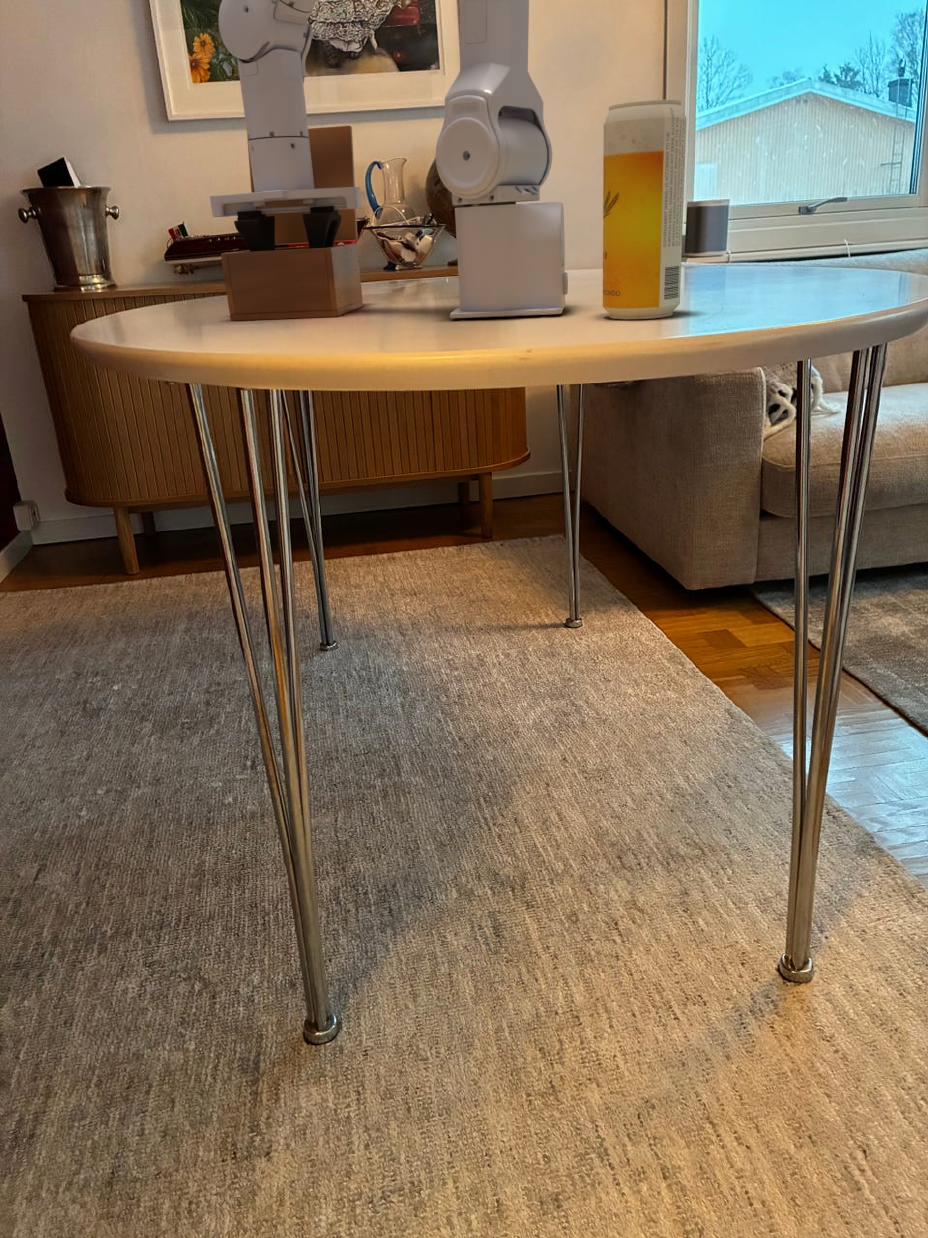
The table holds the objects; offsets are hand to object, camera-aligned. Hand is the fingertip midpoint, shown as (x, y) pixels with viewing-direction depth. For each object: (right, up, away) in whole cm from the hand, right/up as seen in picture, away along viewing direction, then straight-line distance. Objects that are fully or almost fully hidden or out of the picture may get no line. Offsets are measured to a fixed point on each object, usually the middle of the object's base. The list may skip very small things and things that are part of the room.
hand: (296, 292), depth 93 cm
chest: (0, -2, +1) cm, 2 cm away
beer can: (+31, -8, -18) cm, 37 cm away
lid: (0, +11, +1) cm, 11 cm away
